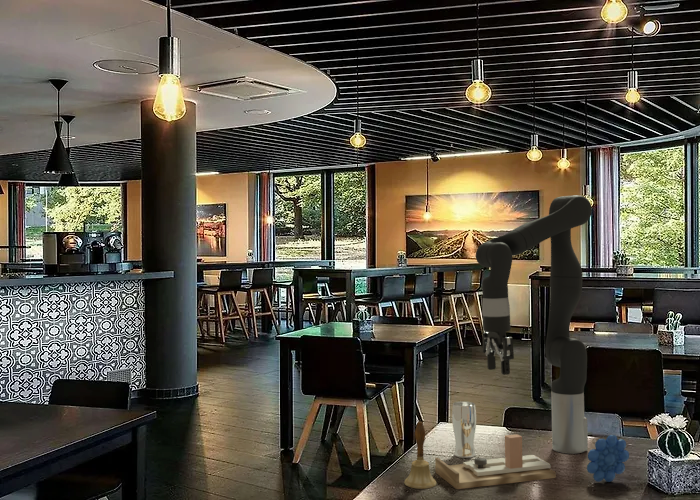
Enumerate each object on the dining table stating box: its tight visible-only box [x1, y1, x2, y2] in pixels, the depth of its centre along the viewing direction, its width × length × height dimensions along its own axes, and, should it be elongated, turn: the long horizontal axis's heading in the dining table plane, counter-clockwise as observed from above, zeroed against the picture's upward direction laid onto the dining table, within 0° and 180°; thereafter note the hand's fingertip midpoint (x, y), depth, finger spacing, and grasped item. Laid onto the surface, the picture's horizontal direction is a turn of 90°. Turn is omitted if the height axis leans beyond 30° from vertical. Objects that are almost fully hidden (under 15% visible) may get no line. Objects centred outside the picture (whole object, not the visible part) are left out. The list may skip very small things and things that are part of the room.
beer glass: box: [451, 400, 477, 459], centre depth 205 cm, size 7×7×15 cm
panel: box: [462, 433, 552, 476], centre depth 188 cm, size 21×9×9 cm, turn 105°
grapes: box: [586, 434, 630, 483], centre depth 181 cm, size 12×7×12 cm, turn 101°
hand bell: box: [403, 420, 437, 490], centre depth 181 cm, size 8×8×16 cm
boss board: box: [434, 457, 557, 490], centre depth 187 cm, size 28×14×4 cm, turn 105°
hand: (498, 371), depth 196 cm, fingers open, 8 cm apart
